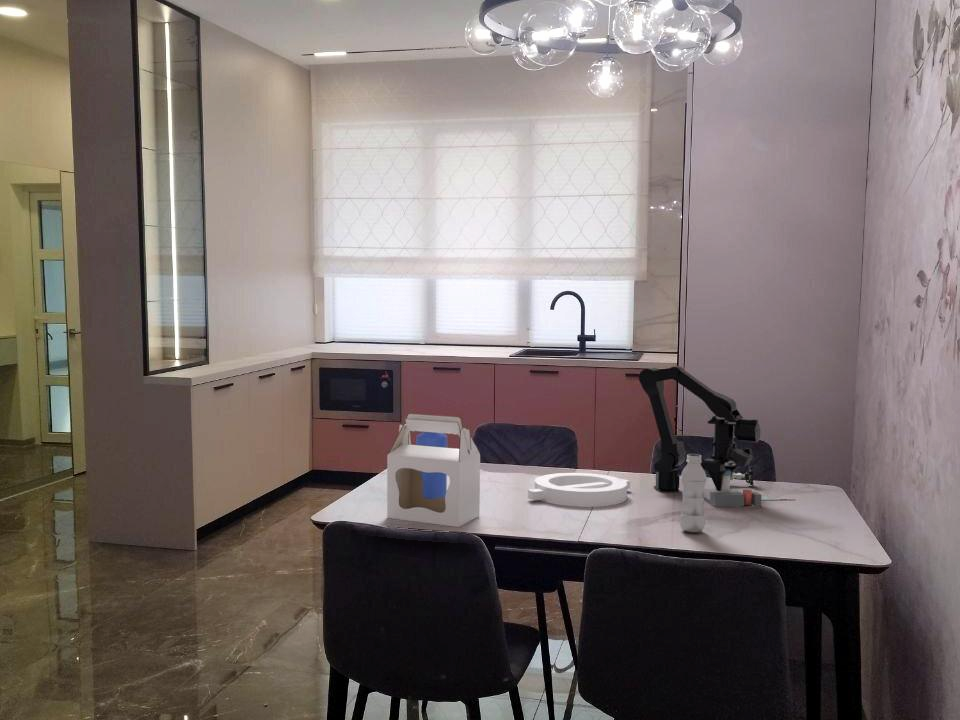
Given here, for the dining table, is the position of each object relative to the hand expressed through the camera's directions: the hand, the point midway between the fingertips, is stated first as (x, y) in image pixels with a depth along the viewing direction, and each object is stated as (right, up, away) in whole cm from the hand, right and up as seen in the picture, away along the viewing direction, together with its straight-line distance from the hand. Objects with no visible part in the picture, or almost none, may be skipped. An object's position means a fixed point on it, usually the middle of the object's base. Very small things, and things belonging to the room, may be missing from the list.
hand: (722, 489), depth 259 cm
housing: (0, -2, -3) cm, 4 cm away
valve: (+9, -2, +18) cm, 20 cm away
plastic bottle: (-19, -5, -41) cm, 45 cm away
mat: (+15, -2, +1) cm, 15 cm away
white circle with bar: (-43, -3, 0) cm, 44 cm away
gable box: (-87, -4, -28) cm, 91 cm away
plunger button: (+4, -3, -10) cm, 11 cm away
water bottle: (-89, -2, -7) cm, 89 cm away
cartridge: (0, -2, 0) cm, 2 cm away
